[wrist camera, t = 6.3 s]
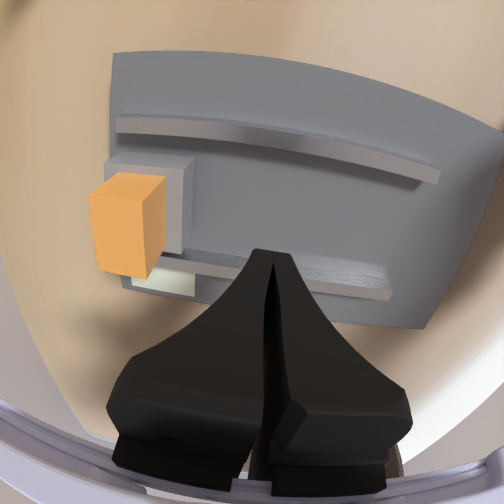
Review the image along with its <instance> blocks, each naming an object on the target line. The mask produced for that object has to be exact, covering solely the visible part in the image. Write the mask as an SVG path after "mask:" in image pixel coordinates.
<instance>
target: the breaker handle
mask: <svg viewBox="0 0 504 504" xmlns="http://www.w3.org/2000/svg"><path fill="white" fill-rule="evenodd" d="M194 165H195V157H187V156H176V155H165V154H153V153H140V152H124V151H122V152H120V153H119V154H117V155H115V156H114V157H112V158H111V159H109V160H108V161H106V162H104V178H105V183H104V184H102V185H101V186H100V187H99V188H97V189H96V190H95V191H94V192H92V193H91V194H90V195H89V196H88V202H89V210H90V218H91V226H92V233H93V240H94V246H95V252H96V258H97V263H98V269H99V270H100V271H105V272H110V273H115V274H120V275H125V276H130V277H135V278H140V279H146V280H147V278H148V277H149V275H150V273H151V271H152V269H153V268H154V266H155V264H156V262H157V260H158V259H159V257H160V255H161V253H162V252H170V253H176V254H182V252H183V250H184V248H185V246H186V244H187V242H188V240H189V238H190V236H191V222H192V199H193V181H194Z"/></svg>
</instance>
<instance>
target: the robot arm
mask: <svg viewBox="0 0 504 504" xmlns="http://www.w3.org/2000/svg"><path fill="white" fill-rule="evenodd" d="M106 409H107V413H108V415H109V417H110V418H111V420H112V422H113V424H114V426H115V427H116V429H117V431H118V432H119V437H118V440H117V443H116V446H115V449H114V450H112V449H108V448H106V447H103V446H100V445H97V444H95V443H92V442H89V441H87V440H84V439H82V438H79V437H76V436H74V435H72V434H70V433H67V432H65V431H63V430H60V429H58V428H56V427H54V426H52V425H49V424H47V423H45V422H43V421H41V420H39V419H37V418H35V417H33V416H31V415H29V414H27V413H25V412H24V411H22V410H20V409H18V408H16V407H14V406H13V405H11V404H9V403H7V402H6V401H4V400H2V399H1V398H0V479H1V480H3V481H4V482H5V483H7V484H8V485H10V486H11V487H13V488H14V489H16V490H17V491H19V492H20V493H22V494H23V495H25V496H27V497H28V498H30V499H32V500H33V501H35V502H37V503H39V504H207V503H197V502H182V501H176V500H171V499H165V498H160V497H155V496H151V495H148V494H147V493H146V489H145V487H142V486H140V485H143V486H146V487H150V488H154V489H158V490H162V491H165V492H169V493H174V494H179V495H183V496H188V497H193V498H198V499H204V500H210V501H216V502H223V503H230V504H504V446H503V447H501V448H499V449H497V450H495V451H494V452H492V453H491V454H489V455H488V456H487V457H486V458H484V459H481V460H478V461H474V462H471V463H467V464H463V465H459V466H455V467H451V468H447V469H443V470H438V471H433V472H428V473H423V474H418V475H412V476H406V477H398V478H391V479H386V473H385V464H387V463H388V462H389V454H388V450H389V449H390V448H391V447H393V446H394V445H395V444H396V443H397V442H399V441H400V440H401V439H402V438H403V437H404V436H405V435H406V434H407V433H408V432H409V431H410V430H411V427H412V425H413V420H412V416H411V410H410V406H409V402H408V399H407V396H406V393H405V390H404V389H403V388H402V387H400V386H399V385H397V384H396V383H395V382H393V381H392V380H390V379H389V378H388V377H386V376H385V375H384V374H382V373H381V372H380V371H378V370H377V369H376V368H375V367H374V366H372V365H371V364H370V363H369V362H368V361H367V360H365V359H364V358H363V357H362V356H361V355H360V354H359V353H358V352H357V351H356V350H355V349H354V348H353V347H352V346H351V345H350V344H349V343H348V342H347V341H346V340H345V339H344V338H343V337H342V336H341V335H340V333H339V332H338V331H337V330H336V329H335V328H334V326H333V325H332V324H331V323H330V321H329V320H328V319H327V317H326V316H325V315H324V313H323V312H322V310H321V309H320V307H319V306H318V304H317V303H316V301H315V299H314V298H313V296H312V295H311V293H310V291H309V289H308V288H307V286H306V284H305V282H304V280H303V279H302V277H301V275H300V273H299V271H298V268H297V266H296V264H295V262H294V260H293V257H292V256H291V254H290V253H283V252H277V251H271V250H264V249H258V248H255V249H253V250H252V252H251V255H250V257H249V259H248V261H247V262H246V264H245V266H244V267H243V269H242V270H241V272H240V273H239V274H238V276H237V277H236V279H235V280H234V281H233V282H232V284H231V285H230V286H229V287H228V288H227V289H226V291H225V292H224V293H223V294H222V295H221V296H220V297H219V298H218V299H217V300H216V301H215V302H214V303H213V304H212V305H211V306H210V307H209V308H208V309H207V310H206V311H204V312H203V313H202V314H201V315H200V316H198V317H197V318H196V319H195V320H194V321H192V322H191V323H190V324H188V325H187V326H186V327H184V328H183V329H181V330H180V331H178V332H177V333H175V334H173V335H172V336H170V337H169V338H167V339H166V340H164V341H162V342H161V343H159V344H157V345H155V346H153V347H151V348H149V349H147V350H145V351H143V352H141V353H139V354H137V355H135V356H133V357H131V359H130V360H129V361H128V363H127V364H126V366H125V367H124V369H123V370H122V372H121V374H120V375H119V377H118V379H117V381H116V383H115V385H114V387H113V390H112V392H111V395H110V398H109V400H108V403H107V406H106ZM251 449H252V453H251V460H250V466H249V473H248V479H239V478H238V477H239V474H240V472H241V470H242V467H243V465H244V463H246V461H247V459H248V456H249V454H250V452H251ZM132 482H133V483H132ZM135 483H136V484H135ZM137 484H139V485H137Z"/></svg>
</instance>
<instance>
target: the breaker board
mask: <svg viewBox="0 0 504 504" xmlns="http://www.w3.org/2000/svg"><path fill="white" fill-rule="evenodd" d="M122 151H124V152H140V153H153V154H165V155H176V156H187V157H195V165H194V181H193V199H192V222H191V236H190V238H189V240H188V242H187V244H186V246H185V248H184V250H183V252H182V254H176V253H170V252H162V253H161V255H160V257H159V259H158V260H157V262H156V264H155V266H154V268H153V269H152V271H151V273H150V275H149V277H148V278H147V280H146V279H140V278H135V277H130V276H125V275H121V279H122V285H123V288H127V289H131V290H136V291H141V292H146V293H151V294H157V295H162V296H167V297H172V298H178V299H183V300H189V301H195V302H200V303H206V304H213V303H214V302H215V301H216V300H217V299H218V298H219V297H220V296H221V295H222V294H223V293H224V292H225V291H226V289H227V288H228V287H229V286H230V285H231V284H232V282H233V281H234V280H235V279H236V277H237V276H238V274H239V273H240V272H241V270H242V269H243V267H244V266H245V264H246V262H247V261H248V259H249V257H250V255H251V252H252V250H253V249H255V248H258V249H264V250H271V251H277V252H283V253H290V254H291V256H292V257H293V260H294V262H295V264H296V266H297V268H298V271H299V273H300V275H301V277H302V279H303V280H304V282H305V284H306V286H307V288H308V289H309V291H310V293H311V295H312V296H313V298H314V299H315V301H316V303H317V304H318V306H319V307H320V309H321V310H322V312H323V313H324V315H325V316H326V317H327V319H328V320H329V321H334V322H343V323H353V324H363V325H373V326H384V327H396V328H409V329H423V330H424V328H425V326H426V325H427V323H428V322H429V320H430V318H431V317H432V315H433V313H434V312H435V310H436V308H437V307H438V305H439V303H440V302H441V300H442V298H443V296H444V295H445V293H446V291H447V289H448V287H449V285H450V284H451V282H452V280H453V278H454V276H455V274H456V272H457V270H458V268H459V266H460V264H461V262H462V260H463V258H464V256H465V254H466V252H467V250H468V248H469V246H470V244H471V242H472V239H473V237H474V235H475V233H476V230H477V228H478V226H479V223H480V221H481V219H482V216H483V214H484V211H485V209H486V206H487V204H488V201H489V199H490V196H491V193H492V190H493V188H494V185H495V182H496V179H497V176H498V173H499V170H500V167H501V164H502V161H503V157H504V133H502V132H500V131H498V130H496V129H494V128H492V127H490V126H488V125H487V124H485V123H483V122H481V121H479V120H476V119H474V118H472V117H470V116H468V115H466V114H464V113H462V112H459V111H457V110H455V109H453V108H450V107H448V106H446V105H443V104H441V103H438V102H436V101H433V100H431V99H428V98H426V97H423V96H421V95H418V94H415V93H412V92H410V91H407V90H404V89H401V88H398V87H395V86H392V85H389V84H386V83H382V82H379V81H376V80H372V79H369V78H365V77H362V76H358V75H354V74H351V73H347V72H343V71H339V70H334V69H330V68H325V67H321V66H316V65H311V64H306V63H301V62H295V61H289V60H283V59H277V58H270V57H262V56H254V55H245V54H234V53H222V52H205V51H139V52H123V53H113V62H112V77H111V98H110V159H111V158H112V157H114V156H115V155H117V154H119V153H120V152H122Z"/></svg>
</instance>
